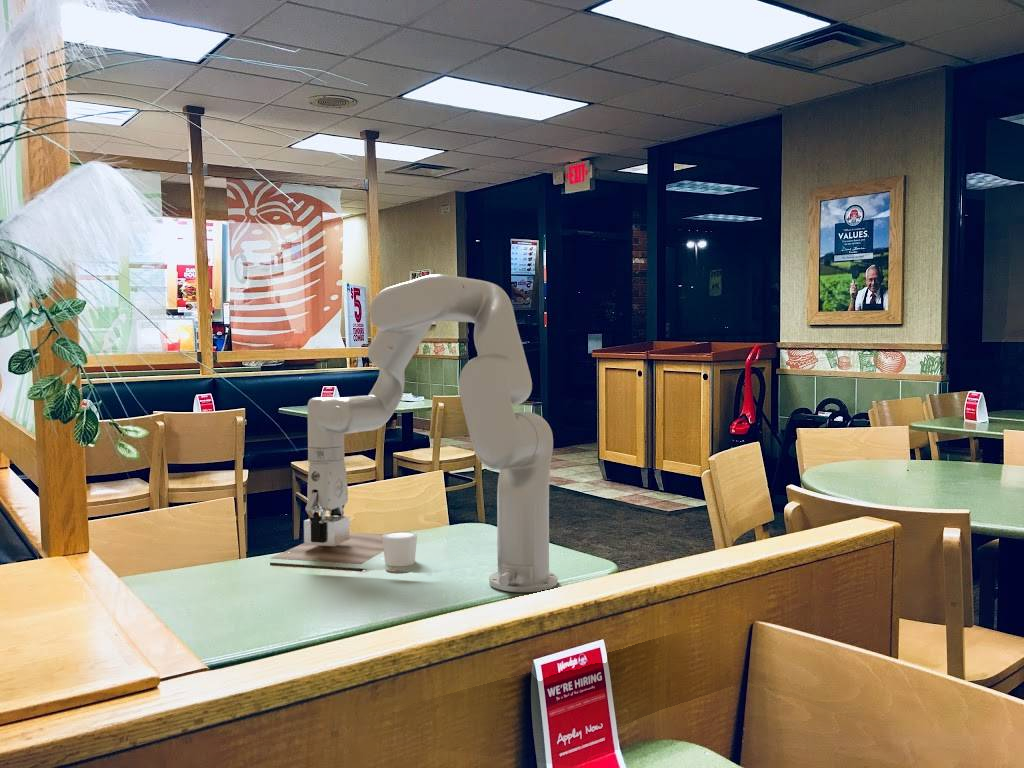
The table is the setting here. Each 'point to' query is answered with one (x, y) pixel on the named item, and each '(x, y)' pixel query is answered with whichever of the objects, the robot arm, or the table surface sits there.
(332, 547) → the post
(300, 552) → the brown flat slab
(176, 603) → the table surface
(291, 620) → the table surface
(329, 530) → the small white box
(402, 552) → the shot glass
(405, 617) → the table surface
